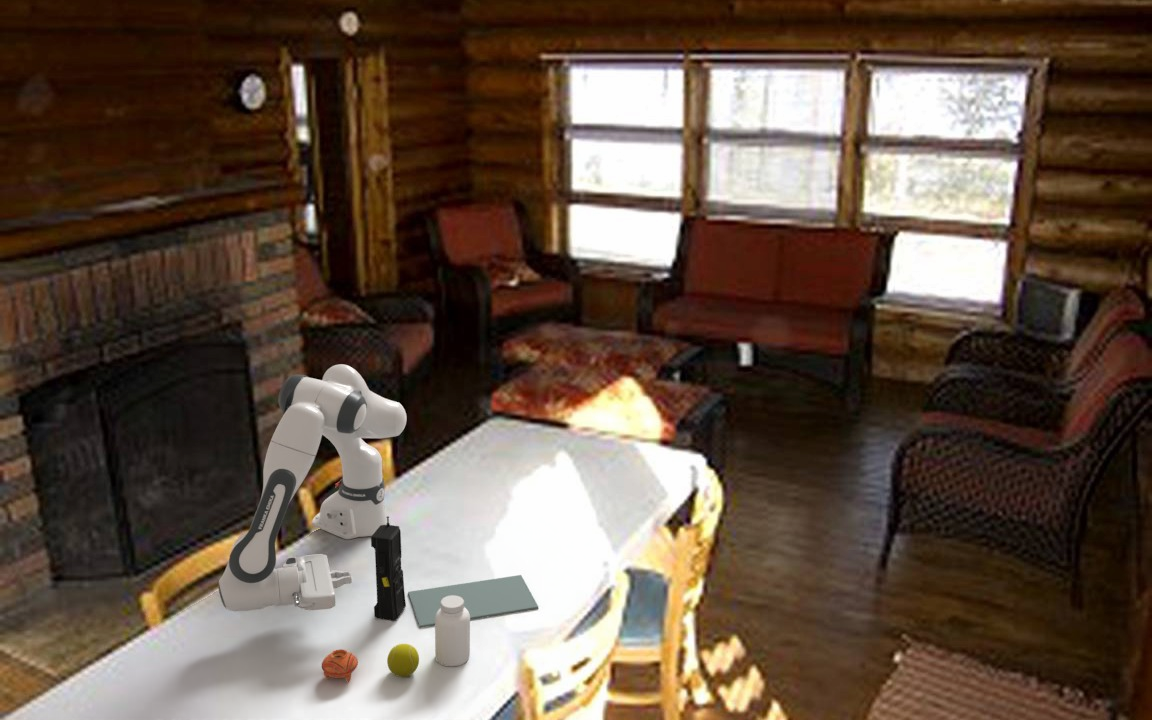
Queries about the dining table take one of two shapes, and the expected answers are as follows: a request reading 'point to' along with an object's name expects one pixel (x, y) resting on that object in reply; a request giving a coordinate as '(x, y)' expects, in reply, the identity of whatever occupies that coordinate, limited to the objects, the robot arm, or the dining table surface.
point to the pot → (339, 664)
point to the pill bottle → (452, 632)
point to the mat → (475, 598)
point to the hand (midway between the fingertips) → (350, 576)
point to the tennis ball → (403, 660)
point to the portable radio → (388, 572)
